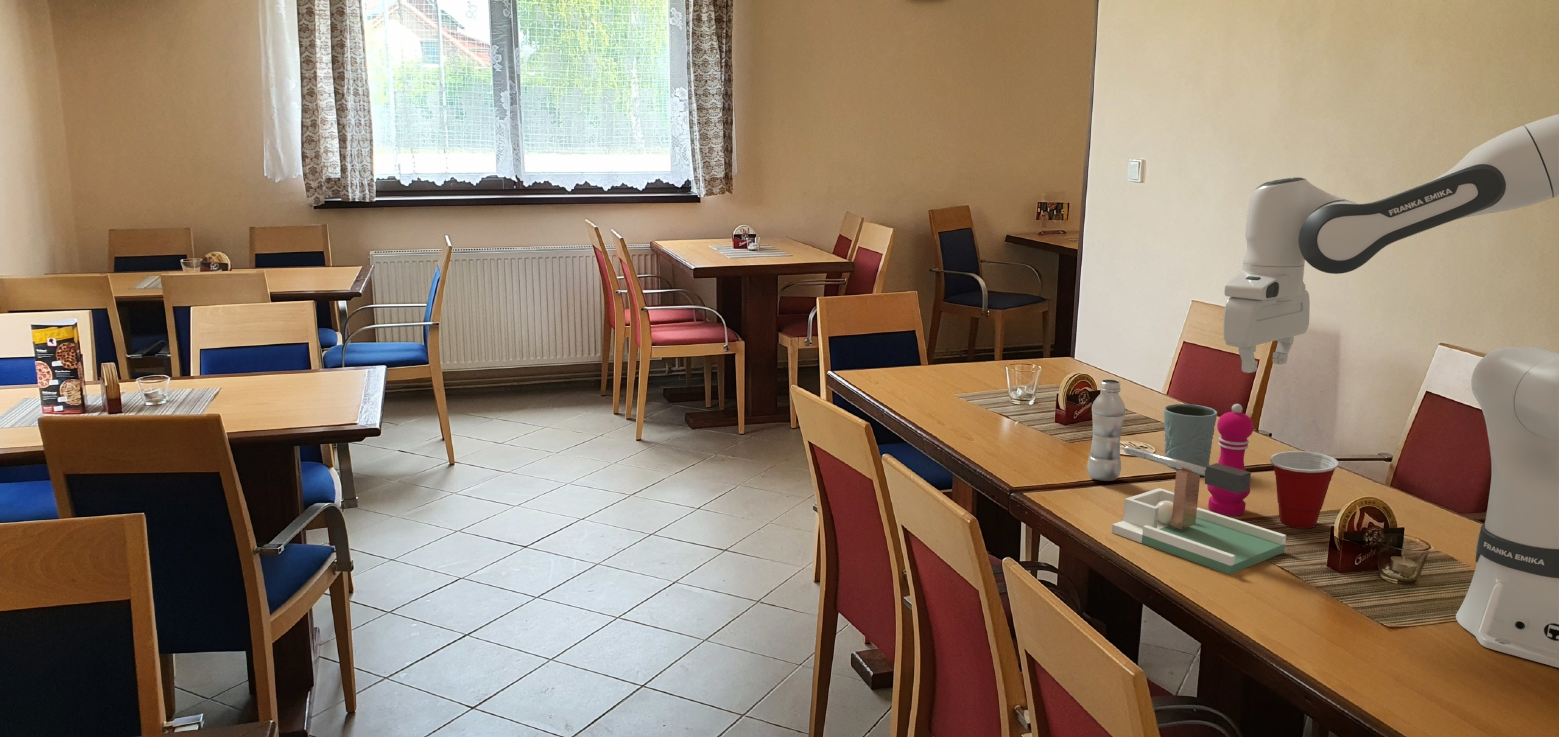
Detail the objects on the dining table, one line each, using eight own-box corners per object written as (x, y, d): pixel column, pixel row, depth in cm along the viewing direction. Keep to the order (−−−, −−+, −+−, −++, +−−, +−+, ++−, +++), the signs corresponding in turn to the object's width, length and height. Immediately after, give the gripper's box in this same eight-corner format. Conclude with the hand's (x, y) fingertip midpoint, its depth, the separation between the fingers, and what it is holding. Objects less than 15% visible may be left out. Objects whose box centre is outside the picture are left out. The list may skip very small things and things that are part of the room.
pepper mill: (1251, 518, 191) (1263, 410, 187) (1209, 514, 193) (1220, 407, 189) (1243, 504, 198) (1254, 400, 194) (1201, 501, 200) (1212, 398, 195)
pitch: (1284, 552, 176) (1287, 520, 175) (1229, 574, 167) (1233, 541, 165) (1166, 513, 193) (1169, 484, 192) (1111, 532, 184) (1114, 502, 183)
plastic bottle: (1124, 477, 213) (1132, 380, 209) (1114, 486, 208) (1122, 386, 203) (1091, 472, 217) (1099, 376, 212) (1081, 480, 211) (1089, 382, 207)
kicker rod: (1244, 540, 175) (1252, 471, 172) (1231, 545, 172) (1238, 476, 170) (1127, 502, 193) (1132, 439, 190) (1113, 506, 190) (1118, 442, 188)
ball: (1164, 495, 186) (1161, 516, 187) (1150, 499, 184) (1147, 521, 185) (1185, 502, 183) (1181, 524, 184) (1171, 507, 181) (1168, 529, 182)
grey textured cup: (1219, 473, 217) (1225, 416, 214) (1169, 472, 217) (1174, 415, 214) (1200, 458, 227) (1206, 403, 224) (1152, 457, 227) (1157, 403, 224)
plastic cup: (1250, 513, 194) (1258, 449, 191) (1307, 511, 195) (1315, 448, 193) (1284, 534, 184) (1292, 468, 181) (1343, 533, 185) (1352, 466, 182)
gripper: (1285, 274, 177) (1278, 355, 180) (1218, 286, 165) (1211, 373, 168) (1324, 278, 172) (1315, 361, 175) (1257, 290, 160) (1250, 380, 163)
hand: (1264, 367), depth 172 cm, fingers open, 8 cm apart
